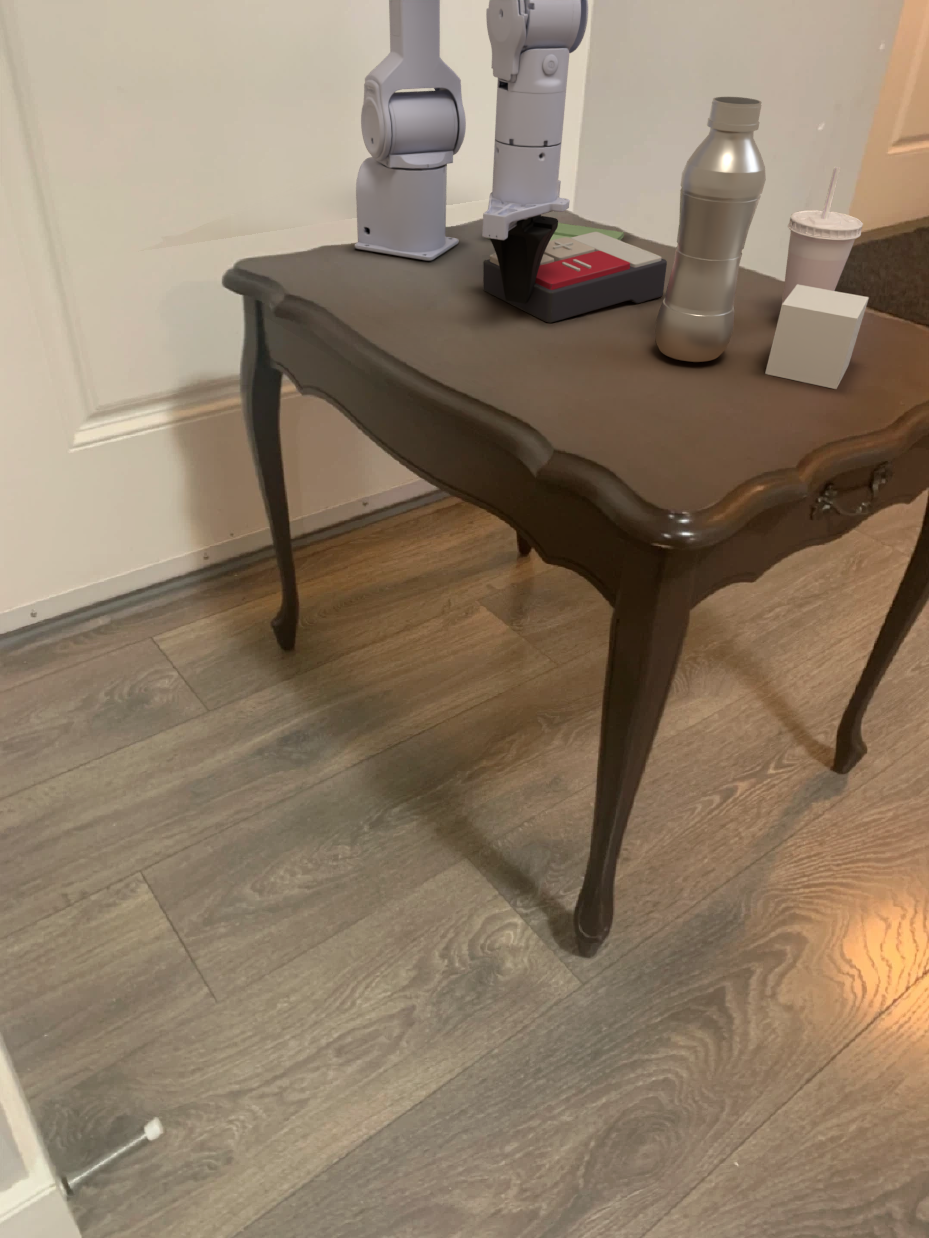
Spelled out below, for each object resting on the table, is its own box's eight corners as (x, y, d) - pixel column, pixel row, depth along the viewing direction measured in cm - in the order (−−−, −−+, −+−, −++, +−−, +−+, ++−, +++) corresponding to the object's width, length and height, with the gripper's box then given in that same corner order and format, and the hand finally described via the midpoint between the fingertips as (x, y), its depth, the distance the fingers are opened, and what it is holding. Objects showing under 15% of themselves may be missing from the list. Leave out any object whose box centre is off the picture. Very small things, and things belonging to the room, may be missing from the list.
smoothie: (753, 324, 89) (789, 165, 81) (785, 308, 93) (822, 155, 85) (815, 342, 86) (859, 179, 77) (845, 325, 90) (891, 168, 81)
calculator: (481, 252, 92) (597, 225, 99) (481, 295, 95) (593, 266, 101) (550, 284, 85) (670, 252, 92) (548, 330, 88) (664, 296, 94)
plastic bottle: (636, 347, 83) (675, 95, 71) (699, 339, 86) (747, 92, 74) (676, 375, 79) (725, 110, 67) (742, 365, 81) (800, 106, 69)
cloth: (487, 239, 109) (487, 234, 108) (514, 221, 115) (514, 215, 115) (602, 257, 105) (603, 251, 104) (623, 237, 111) (624, 232, 111)
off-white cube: (764, 374, 80) (781, 304, 76) (780, 351, 84) (796, 284, 80) (837, 389, 78) (857, 318, 74) (849, 365, 82) (869, 297, 78)
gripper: (544, 162, 73) (531, 332, 81) (597, 131, 83) (581, 285, 92) (461, 152, 75) (456, 319, 83) (523, 123, 85) (514, 273, 94)
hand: (517, 300), depth 88 cm, fingers closed
